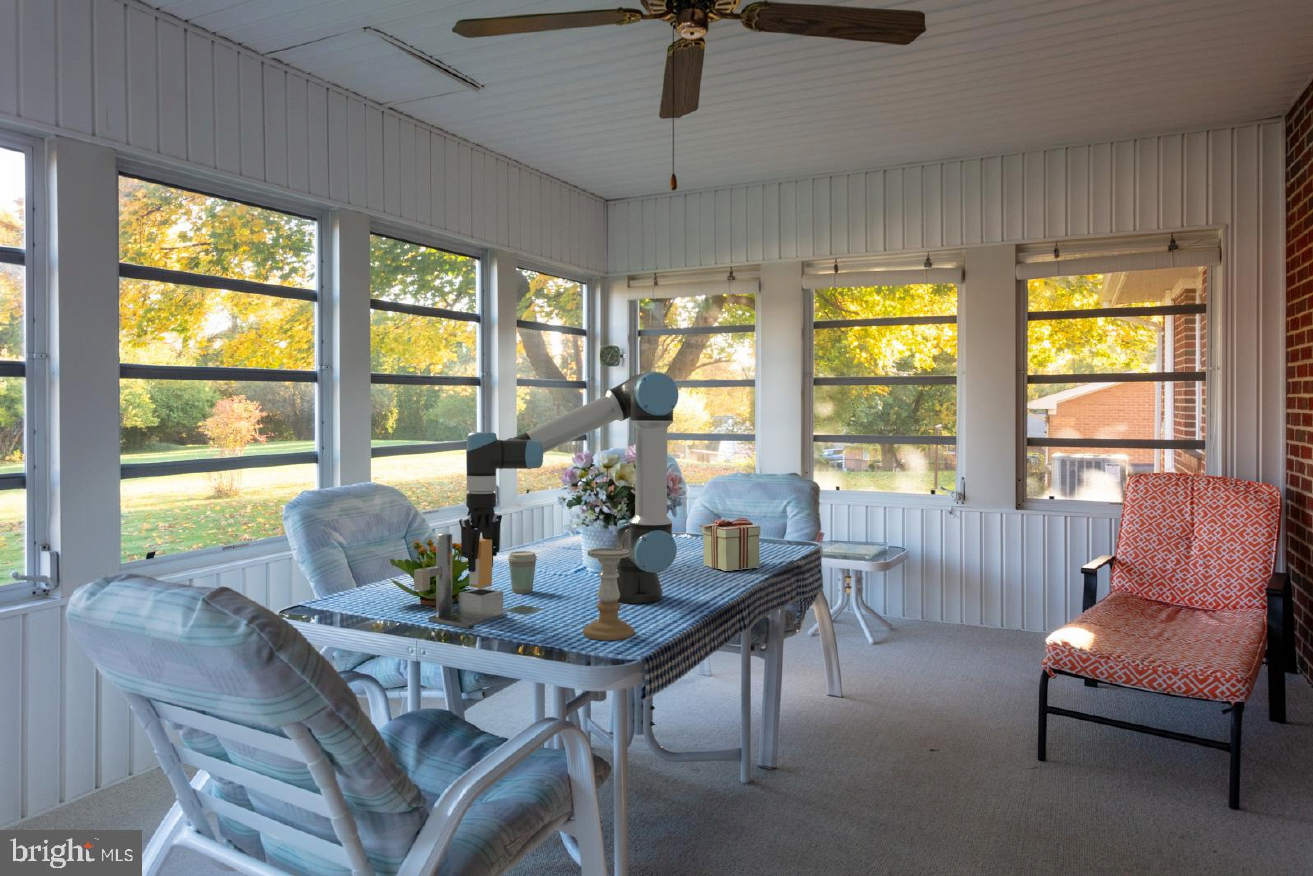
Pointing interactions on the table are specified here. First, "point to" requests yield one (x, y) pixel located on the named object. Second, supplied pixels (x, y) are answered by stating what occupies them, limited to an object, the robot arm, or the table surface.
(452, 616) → the grey post stand
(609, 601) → the candle holder
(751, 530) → the gift box
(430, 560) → the potted flower
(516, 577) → the coffee cup
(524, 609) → the plate
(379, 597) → the table surface
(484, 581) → the tan rectangular bar
